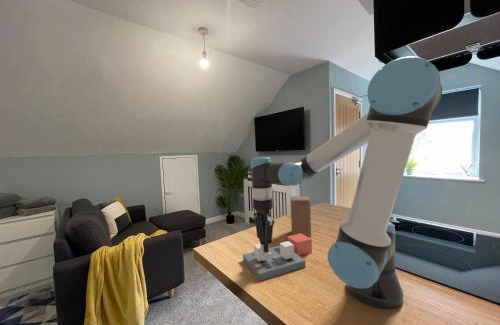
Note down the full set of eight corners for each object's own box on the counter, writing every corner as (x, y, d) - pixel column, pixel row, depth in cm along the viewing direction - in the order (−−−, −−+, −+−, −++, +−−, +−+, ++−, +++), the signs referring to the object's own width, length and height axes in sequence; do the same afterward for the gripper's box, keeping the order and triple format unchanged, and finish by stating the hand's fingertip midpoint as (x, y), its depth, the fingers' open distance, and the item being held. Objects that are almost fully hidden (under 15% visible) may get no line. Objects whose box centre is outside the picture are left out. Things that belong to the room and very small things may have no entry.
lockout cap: (311, 252, 92) (311, 239, 92) (297, 256, 89) (297, 242, 89) (301, 245, 99) (301, 233, 99) (287, 249, 96) (287, 236, 96)
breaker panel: (305, 266, 81) (305, 259, 81) (259, 281, 73) (258, 273, 73) (283, 249, 96) (283, 243, 96) (243, 260, 88) (242, 253, 88)
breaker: (294, 257, 82) (293, 244, 82) (285, 259, 81) (285, 247, 81) (288, 252, 86) (288, 241, 86) (280, 255, 85) (279, 243, 84)
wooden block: (311, 238, 107) (310, 200, 106) (291, 237, 109) (290, 200, 108) (310, 231, 117) (308, 195, 116) (291, 230, 119) (290, 196, 118)
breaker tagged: (267, 259, 82) (267, 246, 82) (258, 261, 80) (258, 248, 80) (263, 254, 86) (262, 242, 85) (254, 256, 84) (253, 244, 84)
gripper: (280, 200, 74) (282, 264, 75) (263, 194, 86) (265, 249, 87) (261, 203, 71) (263, 270, 72) (246, 196, 83) (249, 253, 84)
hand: (264, 259), depth 79 cm, fingers closed
